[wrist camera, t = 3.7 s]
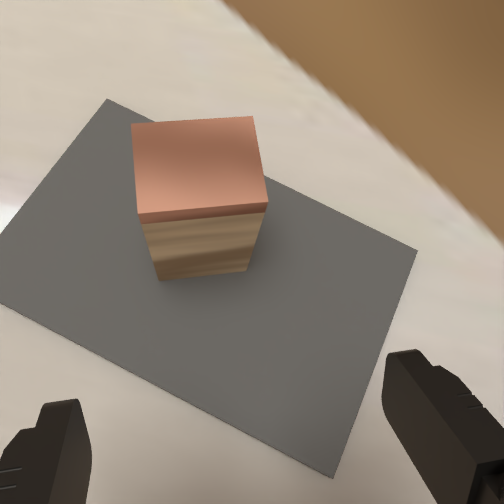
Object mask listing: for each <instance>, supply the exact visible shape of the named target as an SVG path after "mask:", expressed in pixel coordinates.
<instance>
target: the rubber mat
mask: <svg viewBox="0 0 504 504" xmlns="http://www.w3.org/2000/svg"><path fill="white" fill-rule="evenodd" d="M149 122H154V121H152V120H150V119H148V118H146V117H144V116H142V115H140V114H138V113H136V112H134V111H132V110H130V109H127V108H125V107H123V106H121V105H119V104H117V103H115V102H113V101H111V100H109V99H106V100H105V102H104V103H103V104H102V105H101V107H100V108H99V109H98V111H97V112H96V113H95V114H94V116H93V117H92V118H91V119H90V121H89V122H88V123H87V125H86V126H85V127H84V128H83V130H82V131H81V132H80V133H79V135H78V136H77V137H76V139H75V140H74V141H73V142H72V144H71V145H70V146H69V147H68V149H67V150H66V151H65V153H64V154H63V155H62V156H61V158H60V159H59V160H58V161H57V163H56V164H55V165H54V167H53V168H52V169H51V170H50V172H49V173H48V174H47V175H46V177H45V178H44V179H43V180H42V182H41V183H40V184H39V186H38V187H37V188H36V189H35V191H34V192H33V193H32V194H31V196H30V197H29V198H28V200H27V201H26V202H25V203H24V205H23V206H22V207H21V208H20V210H19V211H18V212H17V214H16V215H15V216H14V217H13V219H12V220H11V221H10V222H9V224H8V225H7V226H6V228H5V229H4V230H3V231H2V233H1V234H0V303H2V304H3V305H5V306H7V307H9V308H11V309H13V310H15V311H17V312H19V313H20V314H22V315H24V316H26V317H28V318H30V319H32V320H34V321H36V322H37V323H39V324H41V325H43V326H45V327H47V328H49V329H51V330H53V331H54V332H56V333H58V334H60V335H62V336H64V337H66V338H68V339H70V340H71V341H73V342H75V343H77V344H79V345H81V346H83V347H85V348H87V349H88V350H90V351H92V352H94V353H96V354H98V355H100V356H102V357H104V358H105V359H107V360H109V361H111V362H113V363H115V364H117V365H119V366H121V367H122V368H124V369H126V370H128V371H130V372H132V373H134V374H136V375H138V376H139V377H141V378H143V379H145V380H147V381H149V382H151V383H153V384H155V385H156V386H158V387H160V388H162V389H164V390H166V391H168V392H170V393H172V394H173V395H175V396H177V397H179V398H181V399H183V400H185V401H187V402H189V403H190V404H192V405H194V406H196V407H198V408H200V409H202V410H204V411H206V412H207V413H209V414H211V415H213V416H215V417H217V418H219V419H221V420H222V421H224V422H226V423H228V424H230V425H232V426H234V427H236V428H238V429H239V430H241V431H243V432H245V433H247V434H249V435H251V436H253V437H255V438H256V439H258V440H260V441H262V442H264V443H266V444H268V445H270V446H272V447H273V448H275V449H277V450H279V451H281V452H283V453H285V454H287V455H289V456H290V457H292V458H294V459H296V460H298V461H300V462H302V463H304V464H306V465H307V466H309V467H311V468H313V469H315V470H317V471H319V472H321V473H323V474H324V475H326V476H328V477H330V478H332V479H333V478H334V475H335V472H336V470H337V467H338V464H339V462H340V459H341V456H342V454H343V451H344V448H345V445H346V443H347V440H348V437H349V435H350V432H351V429H352V427H353V424H354V421H355V419H356V416H357V413H358V410H359V408H360V405H361V402H362V400H363V397H364V394H365V392H366V389H367V386H368V384H369V381H370V378H371V375H372V373H373V370H374V367H375V365H376V362H377V359H378V357H379V354H380V351H381V349H382V346H383V343H384V340H385V338H386V335H387V332H388V330H389V327H390V324H391V322H392V319H393V316H394V313H395V311H396V308H397V305H398V303H399V300H400V297H401V295H402V292H403V289H404V287H405V284H406V281H407V278H408V276H409V273H410V270H411V268H412V265H413V262H414V260H415V257H416V254H417V252H418V250H416V249H413V248H411V247H409V246H407V245H405V244H403V243H401V242H399V241H397V240H395V239H393V238H391V237H389V236H387V235H385V234H383V233H381V232H379V231H377V230H375V229H373V228H371V227H369V226H366V225H364V224H362V223H360V222H358V221H356V220H354V219H352V218H350V217H348V216H346V215H344V214H342V213H340V212H338V211H336V210H334V209H332V208H330V207H328V206H326V205H324V204H322V203H319V202H317V201H315V200H313V199H311V198H309V197H307V196H305V195H303V194H301V193H299V192H297V191H295V190H293V189H291V188H289V187H287V186H285V185H283V184H281V183H279V182H277V181H275V180H273V179H270V178H268V177H266V176H264V180H265V185H266V191H267V196H268V205H267V208H266V211H265V214H264V217H263V220H262V223H261V227H260V230H259V233H258V236H257V239H256V242H255V245H254V248H253V252H252V255H251V258H250V261H249V264H248V267H247V270H246V271H242V272H233V273H225V274H216V275H207V276H199V277H190V278H181V279H173V280H164V281H159V280H158V277H157V274H156V271H155V267H154V264H153V261H152V258H151V255H150V251H149V248H148V245H147V242H146V239H145V235H144V232H143V229H142V226H141V223H140V219H139V216H138V211H137V198H136V185H135V172H134V159H133V146H132V132H131V124H133V123H149Z"/></svg>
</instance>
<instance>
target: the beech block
mask: <svg viewBox="0 0 504 504" xmlns="http://www.w3.org/2000/svg"><path fill="white" fill-rule="evenodd" d="M131 132H132V146H133V159H134V172H135V185H136V198H137V211H138V216H139V219H140V223H141V226H142V229H143V232H144V235H145V239H146V242H147V245H148V248H149V251H150V255H151V258H152V261H153V264H154V267H155V271H156V274H157V277H158V280H159V281H164V280H173V279H181V278H190V277H199V276H207V275H216V274H225V273H233V272H242V271H246V270H247V267H248V264H249V261H250V258H251V255H252V252H253V248H254V245H255V242H256V239H257V236H258V233H259V230H260V227H261V223H262V220H263V217H264V214H265V211H266V208H267V205H268V196H267V191H266V185H265V180H264V174H263V169H262V163H261V158H260V153H259V147H258V142H257V136H256V131H255V125H254V120H253V116H247V117H231V118H214V119H198V120H182V121H166V122H149V123H133V124H131Z"/></svg>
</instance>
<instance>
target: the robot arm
mask: <svg viewBox="0 0 504 504" xmlns="http://www.w3.org/2000/svg"><path fill="white" fill-rule="evenodd" d="M382 406H383V410H384V413H385V416H386V418H387V420H388V422H389V424H390V425H391V427H392V429H393V430H394V432H395V434H396V435H397V437H398V439H399V440H400V442H401V444H402V445H403V447H404V449H405V450H406V452H407V454H408V455H409V457H410V459H411V460H412V462H413V464H414V465H415V467H416V469H417V470H418V472H419V474H420V475H421V477H422V479H423V480H424V482H425V484H426V485H427V487H428V489H429V490H430V492H431V494H432V495H433V497H434V499H435V500H436V502H437V504H504V428H503V427H502V426H501V425H500V424H499V422H498V421H497V420H496V419H495V418H494V417H493V416H492V415H491V413H490V412H489V411H488V410H487V409H486V408H483V404H482V403H481V402H480V401H479V400H478V399H477V398H476V397H475V395H472V392H471V391H470V390H469V389H468V388H467V386H466V385H465V384H464V383H463V382H462V381H461V380H460V379H459V377H457V376H456V375H454V374H452V373H451V372H449V371H448V370H446V369H445V368H443V367H441V366H440V365H439V366H432V365H431V364H430V362H429V361H428V360H427V359H426V358H425V356H424V355H423V354H422V353H421V352H420V351H419V350H417V349H413V350H406V351H399V352H393V353H389V354H388V355H387V358H386V365H385V373H384V381H383V389H382ZM91 466H92V451H91V443H90V439H89V435H88V432H87V428H86V424H85V420H84V416H83V412H82V409H81V405H80V402H79V400H78V399H70V400H63V401H57V402H50V403H45V404H44V405H43V406H42V408H41V411H40V414H39V417H38V420H37V423H36V427H35V428H29V429H22V430H20V431H19V432H18V434H17V435H16V436H15V437H14V438H13V439H12V441H11V442H10V443H9V444H8V445H7V447H6V448H5V449H4V451H3V454H2V456H1V459H0V504H86V498H87V492H88V486H89V480H90V474H91Z"/></svg>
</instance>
